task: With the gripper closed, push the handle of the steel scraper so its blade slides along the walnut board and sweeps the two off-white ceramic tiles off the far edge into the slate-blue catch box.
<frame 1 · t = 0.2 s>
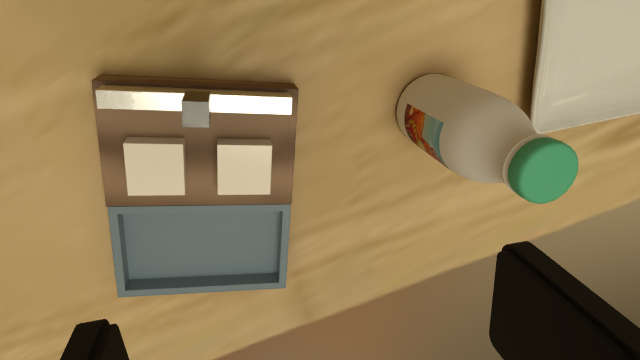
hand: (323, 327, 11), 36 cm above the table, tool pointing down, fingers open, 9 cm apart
catch box: (205, 239, 48), on the table
walnut board: (203, 139, 44), on the table
scraper: (198, 105, 36), point 7 cm above the table, slide at 0.0 cm
milk bottle: (426, 107, 48), on the table
white tile 2: (243, 163, 43), point 3 cm above the table, touching walnut board
white tile 1: (158, 162, 41), point 3 cm above the table, touching walnut board
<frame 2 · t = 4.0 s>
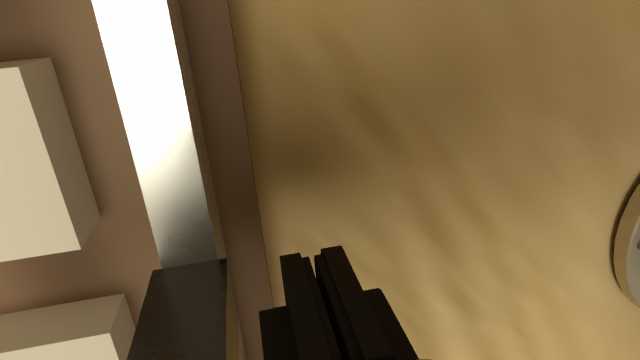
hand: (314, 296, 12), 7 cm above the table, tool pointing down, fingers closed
walnut board: (105, 220, 17), on the table
scraper: (195, 311, 12), point 7 cm above the table, slide at 1.0 cm, touching gripper
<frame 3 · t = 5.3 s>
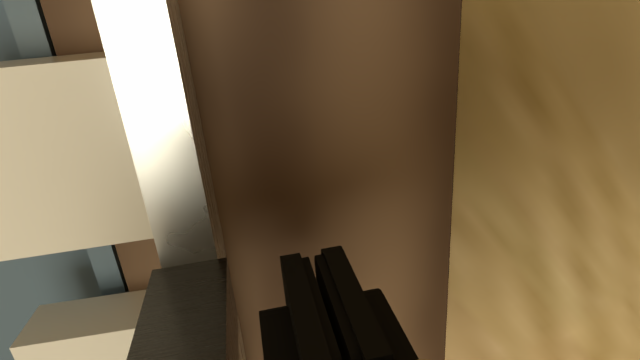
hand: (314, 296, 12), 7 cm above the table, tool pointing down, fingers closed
walnut board: (284, 192, 18), on the table
scraper: (194, 311, 12), point 7 cm above the table, slide at 8.2 cm, touching gripper, white tile 1
white tile 2: (132, 348, 16), point 3 cm above the table, touching walnut board
white tile 1: (66, 144, 13), point 3 cm above the table, touching scraper
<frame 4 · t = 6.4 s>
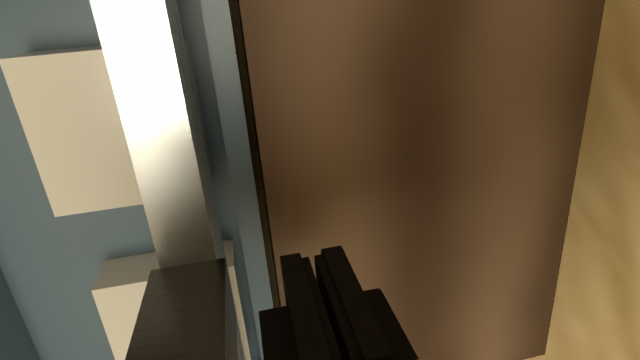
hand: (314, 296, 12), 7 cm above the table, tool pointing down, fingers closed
catch box: (121, 217, 17), on the table
walnut board: (401, 175, 19), on the table
scraper: (193, 311, 11), point 7 cm above the table, slide at 13.4 cm, touching gripper
white tile 2: (183, 299, 18), resting on catch box
white tile 1: (128, 117, 15), resting on catch box
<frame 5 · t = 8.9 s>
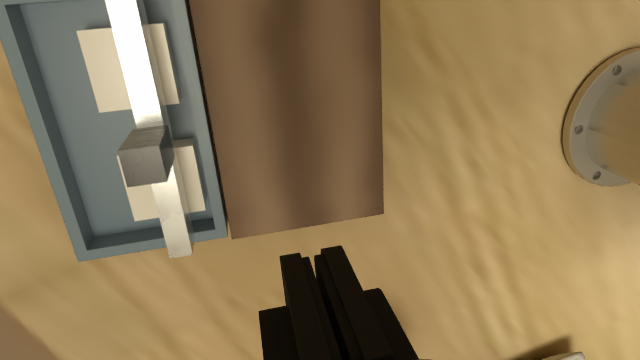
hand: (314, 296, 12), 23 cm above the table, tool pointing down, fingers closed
catch box: (131, 123, 31), on the table
walnut board: (292, 103, 33), on the table
scraper: (152, 147, 25), point 7 cm above the table, slide at 14.3 cm
white tile 2: (166, 174, 32), resting on catch box
white tile 1: (136, 64, 29), resting on catch box
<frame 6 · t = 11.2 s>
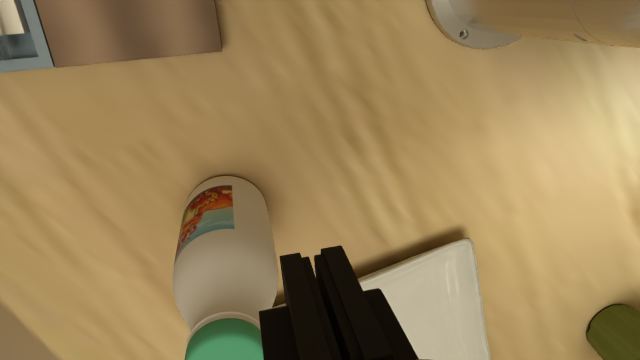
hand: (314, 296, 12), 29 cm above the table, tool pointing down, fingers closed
square plate: (370, 349, 53), on the table
plant pot: (608, 323, 60), on the table
milk bottle: (226, 209, 42), on the table
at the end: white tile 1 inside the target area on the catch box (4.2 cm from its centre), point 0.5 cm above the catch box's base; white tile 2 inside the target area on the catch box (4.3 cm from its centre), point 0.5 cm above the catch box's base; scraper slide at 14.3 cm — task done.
